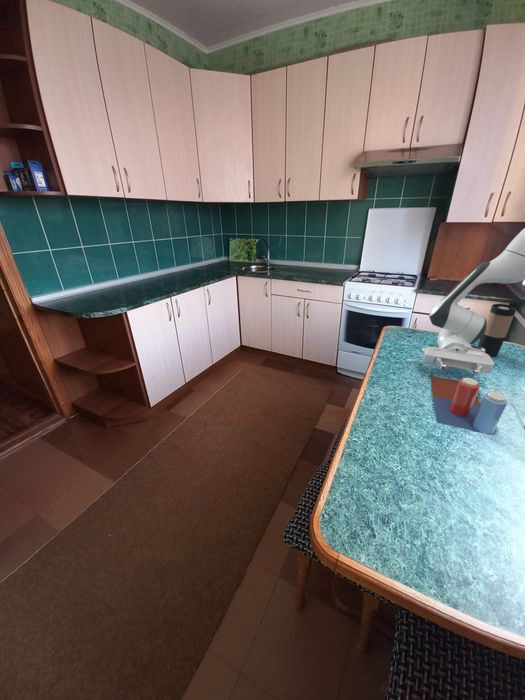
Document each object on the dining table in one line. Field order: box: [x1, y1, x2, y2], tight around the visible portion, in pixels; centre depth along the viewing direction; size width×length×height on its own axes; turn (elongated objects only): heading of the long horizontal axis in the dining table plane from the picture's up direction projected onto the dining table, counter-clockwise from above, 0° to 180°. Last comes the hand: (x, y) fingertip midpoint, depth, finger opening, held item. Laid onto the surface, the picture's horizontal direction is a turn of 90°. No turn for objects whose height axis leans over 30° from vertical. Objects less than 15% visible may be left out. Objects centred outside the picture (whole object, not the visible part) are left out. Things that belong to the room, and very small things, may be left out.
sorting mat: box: [430, 375, 492, 436], centre depth 91 cm, size 13×27×1 cm, turn 156°
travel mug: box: [477, 303, 517, 358], centre depth 115 cm, size 8×8×20 cm
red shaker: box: [449, 377, 481, 417], centre depth 84 cm, size 5×5×11 cm
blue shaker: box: [472, 391, 508, 435], centre depth 78 cm, size 5×5×11 cm
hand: (459, 370), depth 94 cm, fingers open, 8 cm apart
